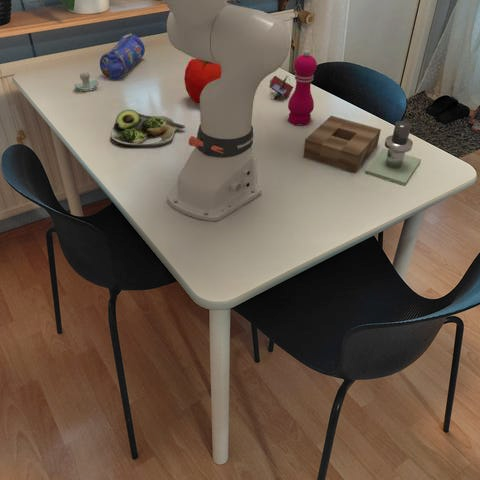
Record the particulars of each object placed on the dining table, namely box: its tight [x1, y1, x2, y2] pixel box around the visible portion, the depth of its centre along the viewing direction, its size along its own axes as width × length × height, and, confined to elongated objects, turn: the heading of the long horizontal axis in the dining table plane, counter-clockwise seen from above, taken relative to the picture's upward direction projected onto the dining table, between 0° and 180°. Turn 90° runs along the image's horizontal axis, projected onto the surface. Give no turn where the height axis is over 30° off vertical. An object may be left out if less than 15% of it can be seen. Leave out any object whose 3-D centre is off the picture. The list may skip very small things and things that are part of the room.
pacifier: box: [74, 70, 99, 92], centre depth 155 cm, size 7×6×6 cm
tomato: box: [183, 58, 221, 105], centre depth 147 cm, size 13×13×13 cm
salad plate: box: [110, 109, 186, 148], centre depth 134 cm, size 19×18×5 cm
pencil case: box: [99, 32, 146, 80], centre depth 167 cm, size 22×9×10 cm, turn 170°
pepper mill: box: [287, 49, 318, 126], centre depth 137 cm, size 7×7×20 cm
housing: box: [302, 115, 382, 174], centre depth 129 cm, size 16×14×5 cm
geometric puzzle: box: [268, 75, 295, 100], centre depth 154 cm, size 7×7×8 cm
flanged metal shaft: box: [384, 120, 414, 169], centre depth 121 cm, size 6×6×11 cm
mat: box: [364, 148, 422, 186], centre depth 125 cm, size 13×10×1 cm
